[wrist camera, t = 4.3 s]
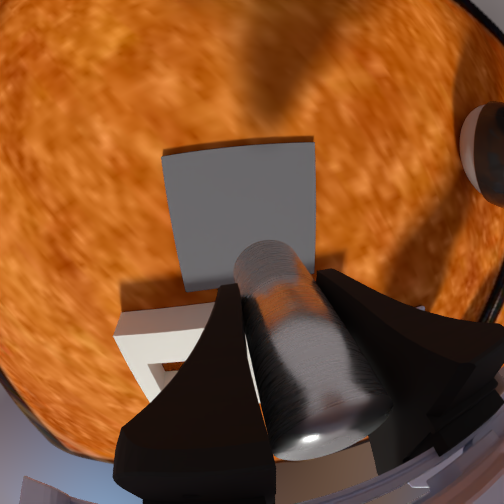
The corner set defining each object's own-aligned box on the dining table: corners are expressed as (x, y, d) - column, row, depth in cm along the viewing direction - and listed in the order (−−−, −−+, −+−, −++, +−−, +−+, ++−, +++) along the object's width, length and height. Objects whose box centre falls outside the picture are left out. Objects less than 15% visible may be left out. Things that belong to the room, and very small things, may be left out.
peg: (299, 235, 12) (409, 379, 4) (298, 293, 13) (373, 437, 6) (229, 244, 11) (270, 422, 4) (236, 303, 13) (272, 468, 5)
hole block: (333, 282, 22) (348, 302, 20) (322, 366, 27) (332, 386, 24) (121, 312, 20) (113, 336, 18) (158, 390, 25) (156, 412, 22)
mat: (312, 142, 17) (314, 142, 17) (312, 271, 21) (314, 273, 21) (162, 156, 16) (161, 156, 16) (186, 289, 20) (186, 292, 20)
